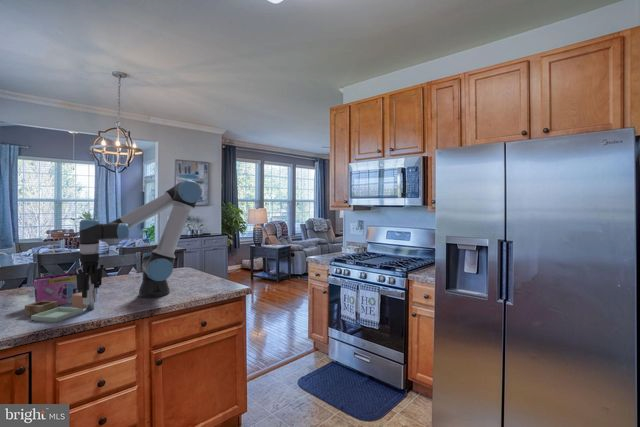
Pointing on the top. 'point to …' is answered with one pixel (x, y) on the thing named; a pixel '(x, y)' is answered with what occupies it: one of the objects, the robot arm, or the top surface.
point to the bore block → (40, 307)
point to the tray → (57, 314)
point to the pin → (90, 297)
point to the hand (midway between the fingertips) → (89, 303)
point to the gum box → (56, 288)
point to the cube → (77, 301)
